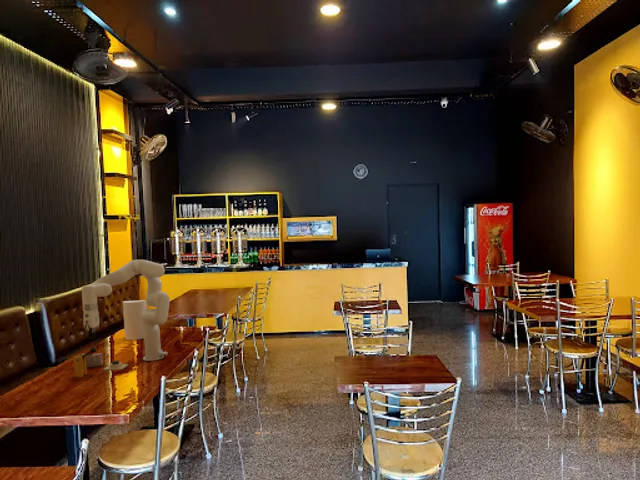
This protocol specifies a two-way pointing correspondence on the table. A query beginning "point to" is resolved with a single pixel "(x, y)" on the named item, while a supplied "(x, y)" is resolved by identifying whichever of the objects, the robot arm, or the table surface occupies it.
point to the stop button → (115, 362)
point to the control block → (115, 366)
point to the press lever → (89, 352)
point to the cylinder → (134, 319)
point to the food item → (94, 360)
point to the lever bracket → (80, 366)
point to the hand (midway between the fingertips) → (92, 339)
